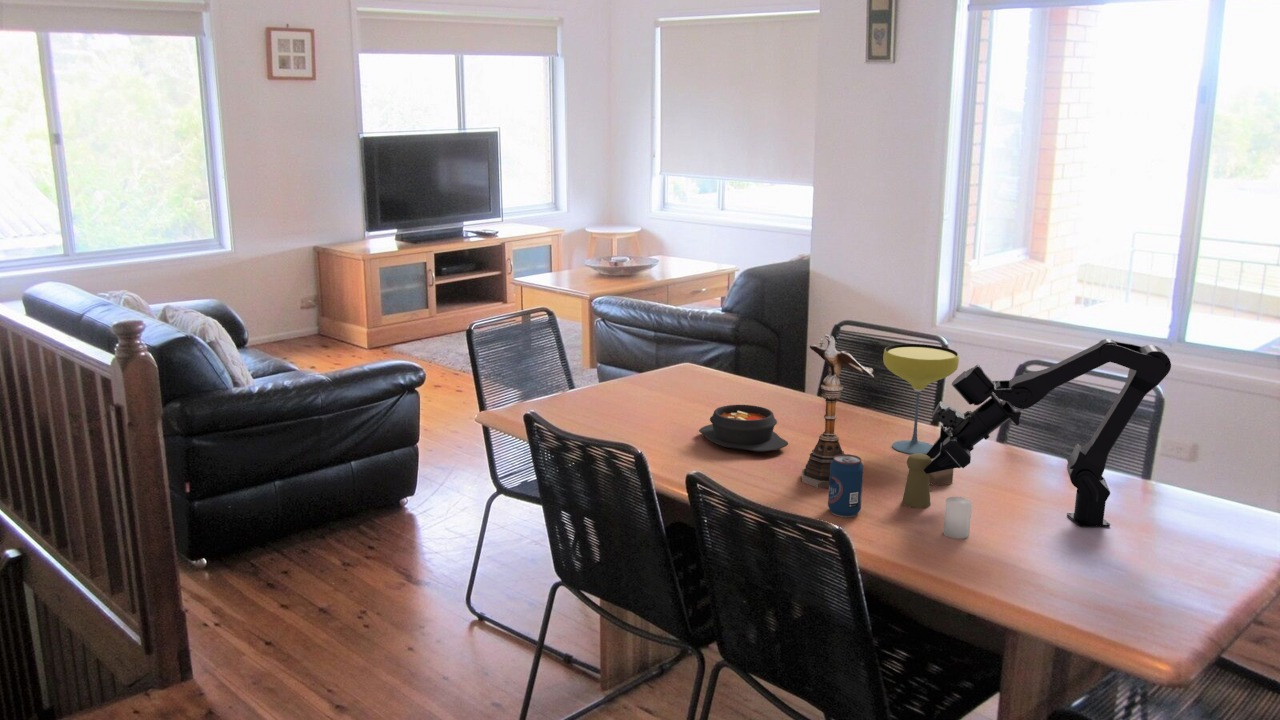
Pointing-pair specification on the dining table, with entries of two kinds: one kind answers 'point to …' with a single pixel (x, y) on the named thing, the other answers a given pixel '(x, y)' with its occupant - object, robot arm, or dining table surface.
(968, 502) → the off-white cylinder
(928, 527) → the dining table surface
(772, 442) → the casserole
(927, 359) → the cocktail glass
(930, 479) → the walnut block
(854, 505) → the soda can
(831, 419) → the bird statue
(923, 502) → the cork
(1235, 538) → the dining table surface
